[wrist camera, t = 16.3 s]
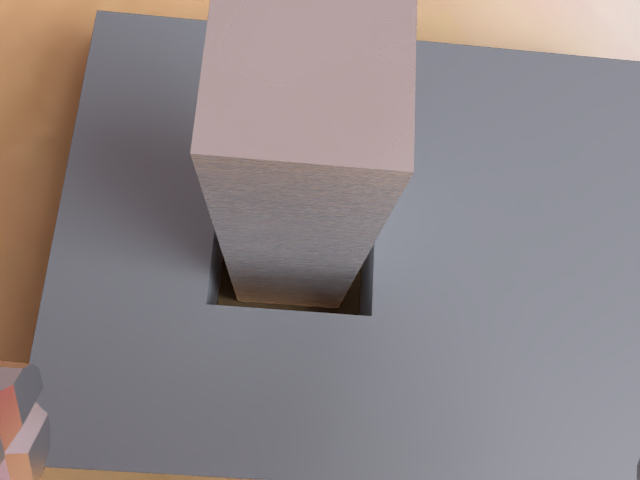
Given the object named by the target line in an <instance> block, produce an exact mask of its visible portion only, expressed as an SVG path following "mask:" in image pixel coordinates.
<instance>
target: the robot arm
mask: <svg viewBox="0 0 640 480" xmlns="http://www.w3.org/2000/svg"><path fill="white" fill-rule="evenodd" d="M42 389H43V383H42V379H41V375H40V370H39V367H37V366H35V365H34V364H32V363H23V362H11V361H0V480H40V478H41V475H42V473H43V471H44V468H45V464H46V460H47V456H48V452H49V448H50V423H49V416H48V413H47V412H46V411H45V410H44V409H42V408H41V407H40V406H39V405H38V404H37V403H36V400H37V398H38V397H39V395H40V393H41V391H42ZM637 480H640V459H639V462H638V464H637Z"/></svg>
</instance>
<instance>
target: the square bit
mask: <svg viewBox="0 0 640 480" xmlns="http://www.w3.org/2000/svg"><path fill="white" fill-rule="evenodd" d="M416 26H417V0H210V6H209V14H208V21H207V29H206V36H205V44H204V52H203V59H202V67H201V74H200V82H199V90H198V97H197V105H196V112H195V120H194V128H193V135H192V143H191V151H190V155H191V158H192V161H193V164H194V167H195V170H196V173H197V177H198V180H199V183H200V186H201V189H202V192H203V195H204V198H205V201H206V204H207V208H208V211H209V214H210V217H211V220H212V223H213V226H214V229H215V232H216V235H217V239H218V242H219V245H220V248H221V251H222V254H223V257H224V260H225V263H226V266H227V269H228V273H229V276H230V279H231V282H232V285H233V288H234V291H235V294H236V297H237V300H238V301H241V302H254V303H268V304H282V305H296V306H310V307H324V308H338V307H339V306H340V304H341V302H342V300H343V298H344V297H345V295H346V293H347V291H348V289H349V288H350V286H351V284H352V282H353V281H354V279H355V277H356V275H357V273H358V272H359V270H360V268H361V266H362V264H363V263H364V261H365V259H366V257H367V255H368V254H369V252H370V250H371V248H372V247H373V245H374V243H375V241H376V239H377V238H378V236H379V234H380V232H381V230H382V229H383V227H384V225H385V223H386V221H387V220H388V218H389V216H390V214H391V212H392V211H393V209H394V207H395V205H396V204H397V202H398V200H399V198H400V196H401V195H402V193H403V191H404V189H405V187H406V186H407V184H408V182H409V180H410V178H411V177H412V175H413V173H414V139H415V82H416Z"/></svg>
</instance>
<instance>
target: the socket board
mask: <svg viewBox="0 0 640 480" xmlns="http://www.w3.org/2000/svg"><path fill="white" fill-rule="evenodd" d="M206 29H207V21H205V20H194V19H183V18H173V17H162V16H151V15H141V14H130V13H120V12H109V11H98V10H97V14H96V19H95V24H94V29H93V34H92V39H91V45H90V50H89V55H88V60H87V65H86V70H85V76H84V81H83V86H82V91H81V96H80V102H79V107H78V112H77V117H76V122H75V127H74V133H73V138H72V143H71V148H70V153H69V158H68V164H67V169H66V174H65V179H64V184H63V189H62V195H61V200H60V205H59V210H58V215H57V220H56V226H55V231H54V236H53V241H52V246H51V251H50V257H49V262H48V267H47V272H46V277H45V282H44V288H43V293H42V298H41V303H40V308H39V313H38V319H37V324H36V329H35V334H34V339H33V344H32V350H31V355H30V360H29V363H32V364H34V365H35V366H37V367H39V370H40V375H41V379H42V383H43V389H42V391H41V393H40V395H39V397H38V398H37V400H36V403H37V404H38V405H39V406H40V407H41V408H42V409H44V410H45V411H46V412H47V413H48V416H49V423H50V448H49V452H48V456H47V460H46V464H45V467H54V468H71V469H88V470H105V471H122V472H139V473H157V474H174V475H191V476H208V477H225V478H242V479H259V480H637V464H638V462H639V459H640V61H629V60H618V59H608V58H597V57H587V56H576V55H565V54H555V53H544V52H534V51H523V50H512V49H502V48H491V47H480V46H470V45H459V44H449V43H438V42H427V41H417V40H416V82H415V139H414V173H413V175H412V177H411V178H410V180H409V182H408V184H407V186H406V187H405V189H404V191H403V193H402V195H401V196H400V198H399V200H398V202H397V204H396V205H395V207H394V209H393V211H392V212H391V214H390V216H389V218H388V220H387V221H386V223H385V225H384V227H383V229H382V230H381V232H380V234H379V236H378V238H377V239H376V241H375V243H374V245H373V247H372V248H371V250H370V252H369V254H368V255H367V257H366V259H365V261H364V263H363V264H362V266H361V285H360V308H359V315H349V314H335V313H321V312H307V311H293V310H279V309H265V308H252V307H238V306H224V305H217V304H218V295H219V286H220V277H221V268H222V259H223V254H222V251H221V248H220V245H219V242H218V239H217V235H216V232H215V229H214V226H213V223H212V220H211V217H210V214H209V211H208V208H207V204H206V201H205V198H204V195H203V192H202V189H201V186H200V183H199V180H198V177H197V173H196V170H195V167H194V164H193V161H192V158H191V155H190V151H191V143H192V135H193V128H194V120H195V112H196V105H197V97H198V90H199V82H200V74H201V67H202V59H203V52H204V44H205V36H206Z"/></svg>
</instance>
